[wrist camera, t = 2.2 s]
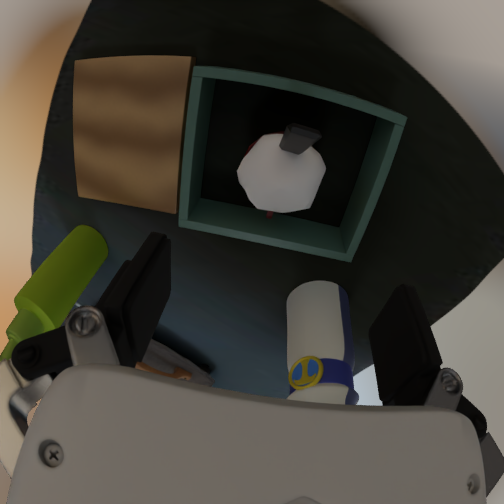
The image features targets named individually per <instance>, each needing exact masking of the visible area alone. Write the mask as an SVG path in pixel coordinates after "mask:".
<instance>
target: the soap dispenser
mask: <svg viewBox="0 0 504 504" xmlns="http://www.w3.org/2000/svg"><path fill="white" fill-rule="evenodd" d="M107 256H108V247H107V244H106V242H105V240H104V238H103V237H102V235H101V234H100V233H99V232H98V231H97V230H95V229H94V228H92V227H90V226H87V225H79V226H77V227H76V228H75V229H74V230H73V231H72V232H71V233H70V234H69V235H68V236H67V237H66V238H65V239H64V240H63V241H62V242H61V243H60V244H59V245H58V247H57V248H56V249H55V250H54V251H53V252H52V253H51V254H50V255H49V257H48V258H47V259H46V260H45V261H44V262H43V263H42V265H41V266H40V267H39V268H38V269H37V270H36V272H35V273H34V274H33V275H32V276H31V278H30V279H29V280H28V281H27V283H26V284H25V285H24V286H23V288H22V289H21V290H20V291H19V293H18V294H17V296H16V297H15V299H14V303H15V306H16V308H17V310H18V314H17V315H16V316H15V318H14V320H13V321H12V322H11V324H10V325H9V327H8V328H7V330H6V334H7V336H8V339H9V342H8V343H7V345H6V347H5V349H4V350H3V352H2V353H1V355H0V361H2V360H3V359H5V358H6V359H7V360H9V359H10V358H11V355H12V351H13V349H14V347H15V346H16V345H17V344H18V343H19V342H20V341H22V340H24V339H27V338H30V337H33V336H36V335H39V334H42V333H45V332H48V331H50V330H53V329H56V328H59V327H60V326H61V324H62V323H63V321H64V319H65V318H66V316H67V315H68V313H69V312H70V310H71V309H72V307H73V305H74V304H75V302H76V301H77V299H78V298H79V296H80V295H81V293H82V292H83V290H84V289H85V288H86V286H87V285H88V283H89V282H90V280H91V279H92V277H93V276H94V275H95V273H96V272H97V270H98V269H99V268H100V266H101V265H102V264H103V262H104V261H105V259H106V258H107Z"/></svg>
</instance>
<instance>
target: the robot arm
mask: <svg viewBox="0 0 504 504" xmlns="http://www.w3.org/2000/svg"><path fill="white" fill-rule="evenodd" d="M170 291H171V241H170V239H167V236H166V235H165V234H161V233H156V232H151V233H150V235H149V236H148V238H147V239H146V240H145V242H144V243H143V245H142V246H141V248H140V249H139V251H138V252H137V253H136V255H135V256H134V258H133V259H132V261H130V260H127V261H125V262H124V263H123V265H122V266H121V268H120V269H119V271H118V272H117V273H116V275H115V276H114V278H113V279H112V281H111V283H110V284H109V286H108V287H107V289H106V290H105V292H104V293H103V295H102V296H101V298H100V300H99V301H98V303H97V304H96V306H95V307H93V306H80V307H78V308H75V309H74V310H72V311H71V312H70V313H69V314H68V316H67V318H66V320H65V326H62V327H59V328H56V329H53V330H50V331H48V332H45V333H42V334H39V335H36V336H33V337H30V338H27V339H24V340H22V341H20V342H19V343H18V344H17V345H16V346H15V347H14V349H13V351H12V355H11V358H10V359H9V360H7V359H6V358H5V359H3V360H2V361H0V462H1V463H2V465H3V467H4V469H5V470H6V472H7V473H8V475H9V476H10V478H11V484H10V488H9V493H8V497H7V503H6V504H486V497H487V496H488V495H489V493H490V492H491V490H492V489H493V488H494V486H495V485H496V483H497V482H498V481H499V479H500V478H501V476H502V475H503V473H504V457H503V456H502V453H501V452H500V450H499V448H498V446H497V445H496V443H495V441H494V440H493V438H492V436H491V435H490V433H489V432H488V433H486V430H487V422H486V419H485V417H484V415H483V414H482V413H481V412H480V411H479V410H478V409H477V408H476V407H475V406H474V405H473V404H472V403H471V402H470V401H469V400H467V399H466V398H465V397H464V396H463V395H462V390H463V383H462V380H461V378H460V376H459V375H458V374H457V372H455V371H454V370H453V369H450V368H443V369H441V368H440V365H441V364H442V363H443V362H442V359H441V356H440V353H439V350H438V347H437V344H436V342H435V338H434V336H433V333H432V330H431V327H430V324H429V322H428V319H427V316H426V314H425V311H424V309H423V306H422V304H421V301H420V299H419V296H418V294H417V292H416V289H415V288H414V287H413V286H409V285H404V284H401V285H400V286H399V287H396V288H395V290H394V292H393V293H392V295H391V296H390V298H389V300H388V301H387V303H386V304H385V306H384V308H383V309H382V311H381V312H380V314H379V315H378V317H377V318H376V320H375V321H374V323H373V324H372V326H371V327H370V329H369V339H370V344H371V350H372V355H373V361H374V367H375V373H376V379H377V385H378V392H379V398H380V400H381V401H382V403H383V406H366V405H344V404H329V403H316V402H306V401H296V400H288V399H280V398H273V397H266V396H259V395H253V394H247V393H241V392H236V391H230V390H225V389H220V388H215V387H210V386H206V385H201V384H197V383H192V382H188V381H184V380H179V379H175V378H171V377H167V376H163V375H160V374H156V373H152V372H148V371H143V370H139V369H135V366H136V364H137V362H140V363H141V362H142V360H143V358H144V355H145V353H146V350H147V348H148V345H149V343H150V341H151V338H152V336H153V333H154V331H155V329H156V326H157V324H158V322H159V319H160V317H161V315H162V312H163V310H164V308H165V305H166V303H167V301H168V299H169V296H170ZM127 366H128V367H127ZM41 398H42V399H41ZM40 399H41V401H40V403H39V405H38V407H37V409H36V411H35V413H34V416H33V418H32V421H31V423H30V425H29V427H28V424H27V416H28V413H29V411H30V410H31V409H32V408H33V407H35V406H36V405H37V403H36V402H37V401H38V400H40Z"/></svg>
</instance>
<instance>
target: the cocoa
mask: <svg viewBox="0 0 504 504" xmlns="http://www.w3.org/2000/svg"><path fill="white" fill-rule="evenodd" d="M320 138H322V135H321V133H320V132H319V130H316V129H313V128H310V127H307V126H303V125H300V124H297V123H291V124H289V125H287V126H286V129H285V131H279V132H274V133H269V134H264V135H263V136H262V137H260V138H259V139H258V140H256V141H255V142H254V143H252V144H251V145H250V146H249V148H248V150H247V152H246V154H245V156H244V158H243V160H242V162H241V164H240V166H239V168H238V170H237V174H238V179H239V183H240V184H241V186H242V187H243V188H244V189H245V191H246V193H247V196H248V198H249V200H250V201H251V202H252V203H253V204H254V206H255V207H256V208H257V209H262V210H267V214H266V218H268V219H271V218H272V215H273V212H280V213H285V212H292V211H298V210H303V209H308V208H310V206H311V204H312V202H313V200H314V198H315V195H316V193H317V190H318V188H319V185H320V182H321V180H322V178H323V175H324V173H325V170H326V166H325V164H324V162H323V160H322V157H321V155H320V154H319V153H318V152H317V151H316V150H315V149H314V148H313V147H312V145H313V144H314V143H315V142H317V141H318V140H319V139H320Z"/></svg>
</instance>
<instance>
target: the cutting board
mask: <svg viewBox="0 0 504 504" xmlns="http://www.w3.org/2000/svg"><path fill="white" fill-rule="evenodd" d="M195 63H196V57H187V56H118V57H104V58H93V59H84V60H76V61H75V69H74V87H73V137H74V156H75V169H76V179H77V189H78V196H79V197H85V198H90V199H96V200H102V201H108V202H113V203H119V204H124V205H130V206H136V207H141V208H146V209H152V210H157V211H162V212H168V213H173V214H176V213H177V212H178V210H179V206H180V189H181V174H182V162H183V150H184V140H185V130H186V120H187V112H188V103H189V96H190V88H191V81H192V74H193V67H194V66H195Z"/></svg>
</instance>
